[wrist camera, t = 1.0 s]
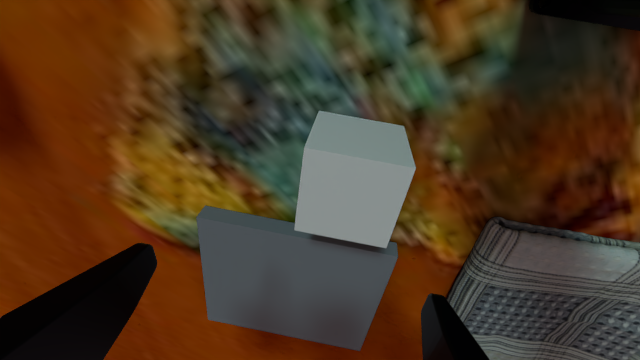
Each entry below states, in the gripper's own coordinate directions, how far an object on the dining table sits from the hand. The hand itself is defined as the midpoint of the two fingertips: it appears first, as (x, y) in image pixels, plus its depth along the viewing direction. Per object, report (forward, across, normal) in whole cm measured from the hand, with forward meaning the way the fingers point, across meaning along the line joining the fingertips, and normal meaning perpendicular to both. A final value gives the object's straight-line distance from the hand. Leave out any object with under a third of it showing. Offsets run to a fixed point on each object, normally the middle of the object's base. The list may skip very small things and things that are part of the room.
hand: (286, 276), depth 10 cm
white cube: (+12, -2, +2) cm, 12 cm away
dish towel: (+13, -21, +14) cm, 28 cm away
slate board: (+12, +2, +16) cm, 20 cm away
